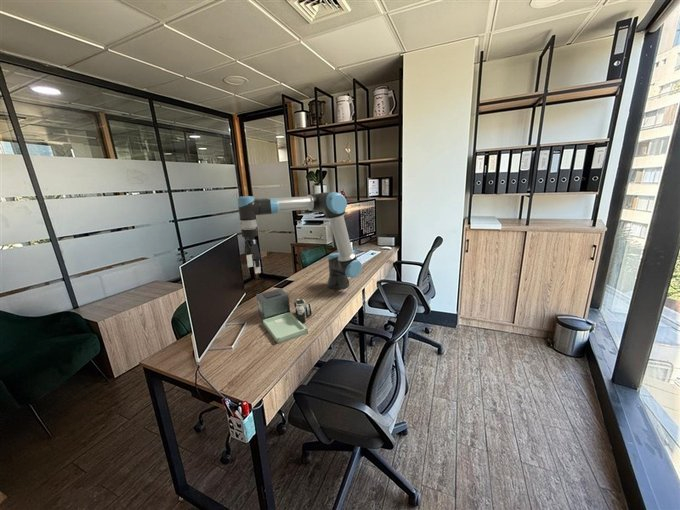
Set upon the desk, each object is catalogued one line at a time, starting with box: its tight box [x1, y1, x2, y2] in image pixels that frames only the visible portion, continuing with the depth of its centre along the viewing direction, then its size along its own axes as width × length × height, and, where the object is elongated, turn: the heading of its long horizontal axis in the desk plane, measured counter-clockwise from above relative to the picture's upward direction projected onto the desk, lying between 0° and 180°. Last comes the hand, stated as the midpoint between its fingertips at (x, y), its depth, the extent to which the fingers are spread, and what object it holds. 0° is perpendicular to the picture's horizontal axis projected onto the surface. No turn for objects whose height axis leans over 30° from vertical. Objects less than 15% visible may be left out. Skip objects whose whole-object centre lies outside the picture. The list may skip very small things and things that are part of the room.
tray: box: [262, 311, 308, 345], centre depth 137 cm, size 15×22×2 cm
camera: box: [293, 298, 313, 325], centre depth 147 cm, size 16×9×10 cm, turn 16°
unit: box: [255, 288, 291, 321], centre depth 151 cm, size 15×12×12 cm
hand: (254, 269), depth 141 cm, fingers open, 13 cm apart
